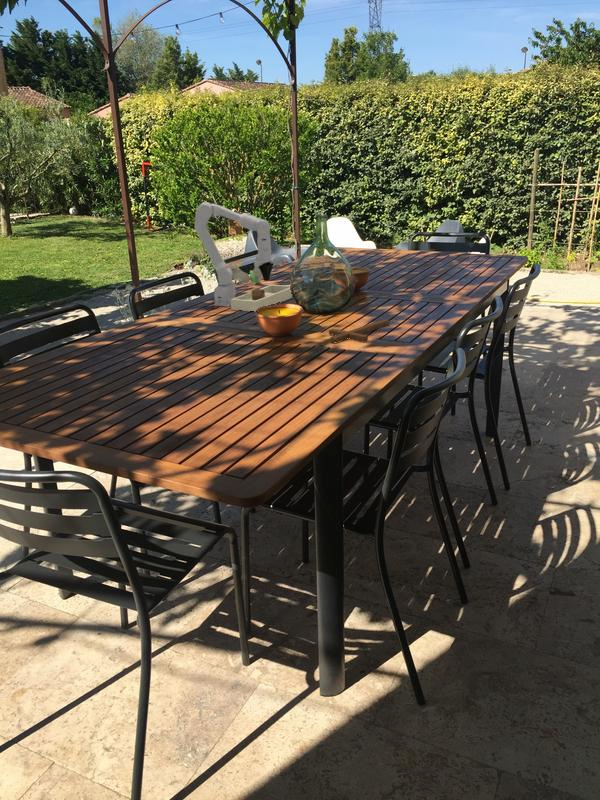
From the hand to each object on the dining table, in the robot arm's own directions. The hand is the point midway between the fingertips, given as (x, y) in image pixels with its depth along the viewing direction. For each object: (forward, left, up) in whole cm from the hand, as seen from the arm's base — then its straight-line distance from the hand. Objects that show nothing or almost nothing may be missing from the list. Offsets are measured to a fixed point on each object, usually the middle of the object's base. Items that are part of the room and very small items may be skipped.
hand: (266, 280), depth 283 cm
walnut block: (-8, 0, -7) cm, 10 cm away
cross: (-34, -61, -10) cm, 71 cm away
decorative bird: (+30, +30, -10) cm, 43 cm away
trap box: (-3, 0, -9) cm, 10 cm away
